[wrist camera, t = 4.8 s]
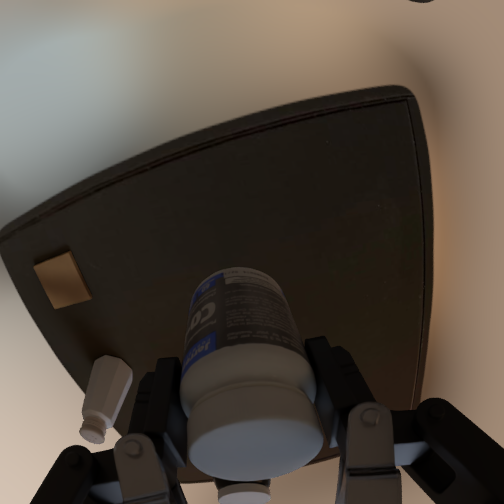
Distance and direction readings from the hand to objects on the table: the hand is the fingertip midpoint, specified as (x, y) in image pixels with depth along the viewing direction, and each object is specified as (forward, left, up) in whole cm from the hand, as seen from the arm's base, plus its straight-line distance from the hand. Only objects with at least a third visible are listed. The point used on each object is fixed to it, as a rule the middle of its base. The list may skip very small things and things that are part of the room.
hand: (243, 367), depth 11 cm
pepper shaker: (+17, -17, -19) cm, 30 cm away
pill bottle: (0, 0, -5) cm, 5 cm away
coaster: (+4, -19, -19) cm, 27 cm away
